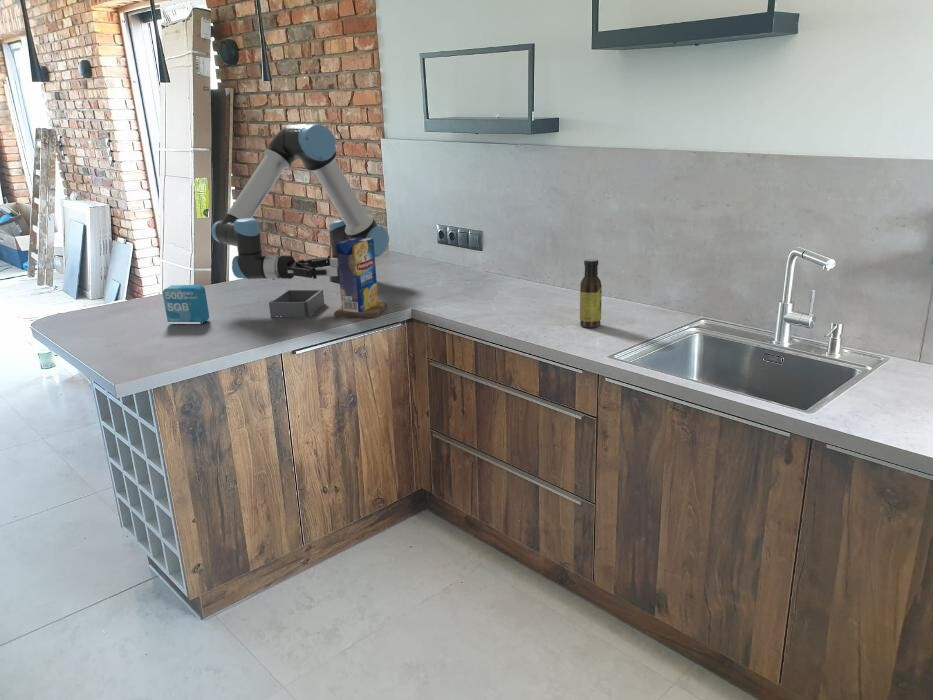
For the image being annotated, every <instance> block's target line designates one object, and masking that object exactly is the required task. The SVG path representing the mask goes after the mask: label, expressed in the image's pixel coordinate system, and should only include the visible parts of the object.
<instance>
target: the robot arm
mask: <svg viewBox="0 0 933 700" xmlns="http://www.w3.org/2000/svg"><path fill="white" fill-rule="evenodd" d="M336 145H337V142H336V139H335V135H334V133H333V132H332V131H331V130H330V129H329V128H328V126H327V127H326V126H325V125H323V124H318V123H291V124H287V126H284V127H283V128H281V129H280V131H278V132H277V134H276V135H274V137H273V138H272V139H271V141H270V142H269V144H268V145H267V146H266V148H265V150H264V151H263V153H264V156H263V158H262V160H261V161H260V163H259V164H258V166H257V167H256V168H255V170H254V172H253V174H252V175H251V176H250V178H249V180H248V181H247V183H246V184H245V186H244V187H243V189H242V190H241V192H240V193H239V194H238V196H237V198H236V199H235V201H234V202H233V204H232V206H231V207H230V209H228V211H227V213H226V215H225V216H224V218H223V219H222V220H218V221H215V223H213V225H212V226H211V230H210V231H211V232H210V234H211V236H212V238H213V240H215V242H218V243H220V244H223V245H226V246H227V245H229V246H234V247H236V248H237V255H235V256H234V257H233V258H232V260H231V270H232V273H233V276H235V277H236V278H237V279H246V280H254V279H255V280H257V279H258V280H259V279H261V280H263V279H271V280H272V281H275V279H277V280H278V279H281V280H282V279H284V280H286V279H287V280H289V279H293V278H294V277H295V276H296V277H300V278H301V277H302V278H307V279H308V278H309V279H313V280H315V279H317V278H318V277H329V281H331V282H335V283H340V280H339V269H338V259H337V248H336V243H339V242H342V241H345V240H349V239H352V238H355V237H359V238H373V240H374V253H375V258H379V257H380V256H382V255H383V254H384V253H385V252H386V251H387V249H388V247H389V242H390V235H389V232H388V230H387V229H386V228H385V227H384V226H381V225H378V224H377V222H376V220H375V219H374V217H373V216H372V215H371V214H367V212H366V211H365V209H364V207H363V205H362V204H361V202H360V201H359V199H358V197H357V195H356V194H355V191H354V190H353V188H352V186H351V185H350V183H349V181H348V180H347V178H346V176H345V174H344V173H343V171H342V169H341V167H340V166H339V164H338V163H337V160H336V159H337V155H338V153H337V151H336V150H337V146H336ZM297 160H300V161H301V162H302V163H303V165H304V166H305V168H306V170H307V171H308V172H311V173H314V175H315V177H316V178H317V180H318V182H319V183H320V185H321V186H322V188H323V190H324V191H325V193H326V195H327V196H328V198H329V199H330V202H331V203H332V205H333V206H334V209H335V210H336V211H337V213H338V215H339V216H340V217H341V219H339V220H333V221H331V222H330V223H329V226H328V227H329V231H328V233H329V240H330V249H331V255H327V256H325V257H317V258H301V259H298V260H297V261H295V259H294V257H293V256H292V255H278V254H277V255H263V250H262V240H261V231H260V227H259V226H260V225H259V221H258V220H257V219H256V218H253V217H254V216H255V214H256V213H257V211H258V209H259V208H260V207H261V205H262V203H263V202H264V201H265V199H266V198H267V196H268V194H269V193H270V192H271V189H272V188H273V187H274V185H275V184H276V182H277V181H278V179H279V177H280V176H281V175H282V173H283V172H284V170H285V169H286V170H287V169H289V168H290V167H291V165H292V164H293V162H295V161H297Z"/></svg>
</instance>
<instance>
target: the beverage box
mask: <svg viewBox="0 0 933 700" xmlns="http://www.w3.org/2000/svg"><path fill="white" fill-rule="evenodd" d="M336 248H337V259H338V269H339V280H340V282H339V289H340V299H341V300H340V301H341V306H342V311H350V312H359V313H360V312H362V311H364V310H367V309H369V308H371V307H373V306H375V305H377V304H378V302H379V297H378V296H379V295H378V282H377V271H376V269H377V268H376V257H375V253H374V240H373V238H359V237H355V238H352V239H349V240H345V241H342V242H339V243H336Z"/></svg>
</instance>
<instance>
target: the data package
mask: <svg viewBox="0 0 933 700" xmlns="http://www.w3.org/2000/svg"><path fill="white" fill-rule="evenodd" d="M162 297H163V298H162V299H163V303H164V309H165V314H166V319H167V323H168V322H200V323H202V322H204V323H205V321H206V320H207V321H208V320H209V319H210V312H209V305H208V301H207V293H206V289H205V287H204V286H203V285H202V284H181V285H180V284H175V285H174V284H173V285H172V284H171V285H169V286H168V287H166V288H164V289H163V290H162ZM207 321H206V322H207Z"/></svg>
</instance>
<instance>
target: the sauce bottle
mask: <svg viewBox="0 0 933 700" xmlns="http://www.w3.org/2000/svg"><path fill="white" fill-rule="evenodd" d="M583 265H584V273H583V274H584V276H583V277H582V279H581V280H580V284H579V285H580V289H579V320H580V321H579V324H580V326H581V327H583V328H586V329H587V328H598V327H599V326H601V320H602V299H603V298H602V297H603V296H602V295H603V293H602V288H603V287H602V280H601V279H600V278H599V276H598V275H599V273H598V271H599V270H598V269H599V268H598V266H599V259H597V258H585V259H584V261H583Z"/></svg>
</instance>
